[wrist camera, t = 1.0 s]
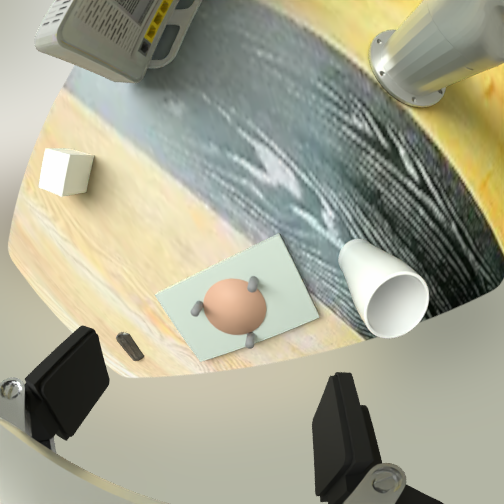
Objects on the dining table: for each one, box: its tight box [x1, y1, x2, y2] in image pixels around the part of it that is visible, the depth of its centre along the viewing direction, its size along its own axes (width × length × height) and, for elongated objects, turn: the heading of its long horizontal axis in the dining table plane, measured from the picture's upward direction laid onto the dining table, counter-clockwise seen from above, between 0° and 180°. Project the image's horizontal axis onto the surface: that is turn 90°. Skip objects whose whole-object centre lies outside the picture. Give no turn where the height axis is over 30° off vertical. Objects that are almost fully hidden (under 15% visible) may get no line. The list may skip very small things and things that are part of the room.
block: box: [116, 332, 144, 361], centre depth 43 cm, size 4×6×2 cm, turn 30°
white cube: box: [39, 148, 94, 197], centre depth 32 cm, size 6×6×6 cm
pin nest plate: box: [155, 233, 319, 362], centre depth 37 cm, size 20×13×4 cm, turn 117°
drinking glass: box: [338, 239, 429, 339], centre depth 28 cm, size 7×7×15 cm
